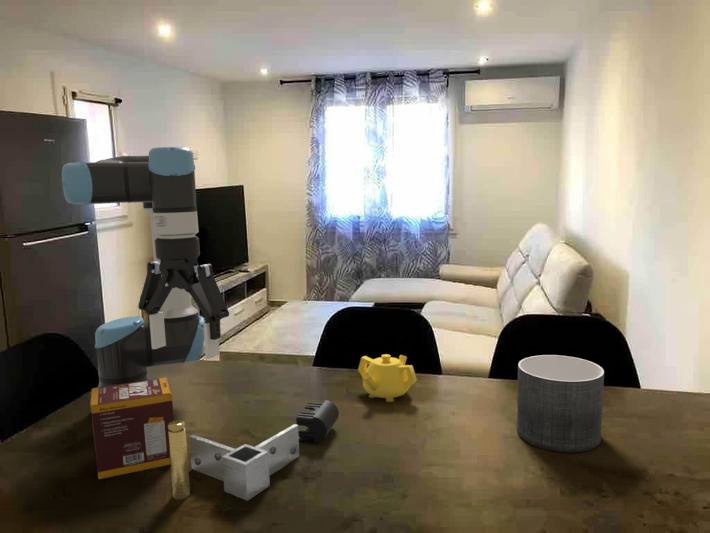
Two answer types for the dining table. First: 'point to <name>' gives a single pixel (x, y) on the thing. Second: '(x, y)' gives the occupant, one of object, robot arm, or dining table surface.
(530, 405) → the planter
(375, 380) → the teapot
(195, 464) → the hinge leaves
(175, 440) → the hinge pin
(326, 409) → the end cap
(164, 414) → the supplement box
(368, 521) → the dining table surface
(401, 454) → the dining table surface
